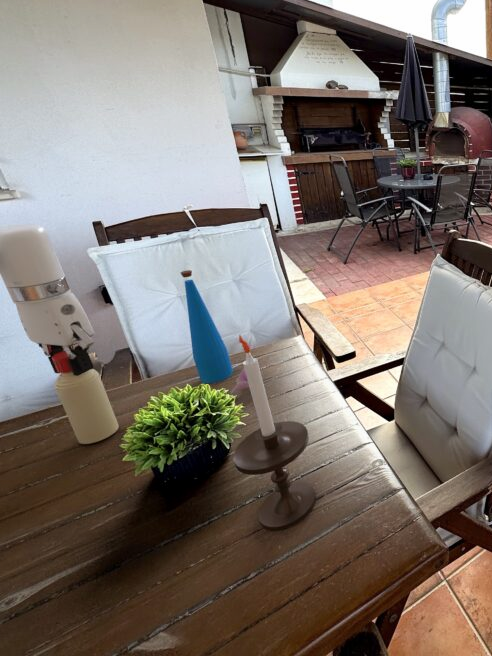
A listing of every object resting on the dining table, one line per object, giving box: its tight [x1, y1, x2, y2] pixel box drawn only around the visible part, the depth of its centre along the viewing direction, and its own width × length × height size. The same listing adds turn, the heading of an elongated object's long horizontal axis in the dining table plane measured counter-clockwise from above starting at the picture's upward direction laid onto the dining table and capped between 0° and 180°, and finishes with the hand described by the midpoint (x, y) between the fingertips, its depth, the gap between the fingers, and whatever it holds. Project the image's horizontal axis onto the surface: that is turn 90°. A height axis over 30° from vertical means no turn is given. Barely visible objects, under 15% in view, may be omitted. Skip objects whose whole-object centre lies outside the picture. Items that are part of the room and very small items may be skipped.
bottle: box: [180, 269, 234, 384], centre depth 104 cm, size 7×7×30 cm
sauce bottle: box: [54, 368, 120, 445], centre depth 85 cm, size 6×6×20 cm
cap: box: [52, 348, 74, 374], centre depth 82 cm, size 4×4×3 cm
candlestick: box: [232, 334, 317, 532], centre depth 66 cm, size 11×11×35 cm
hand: (74, 370), depth 83 cm, fingers closed on cap, 4 cm apart
